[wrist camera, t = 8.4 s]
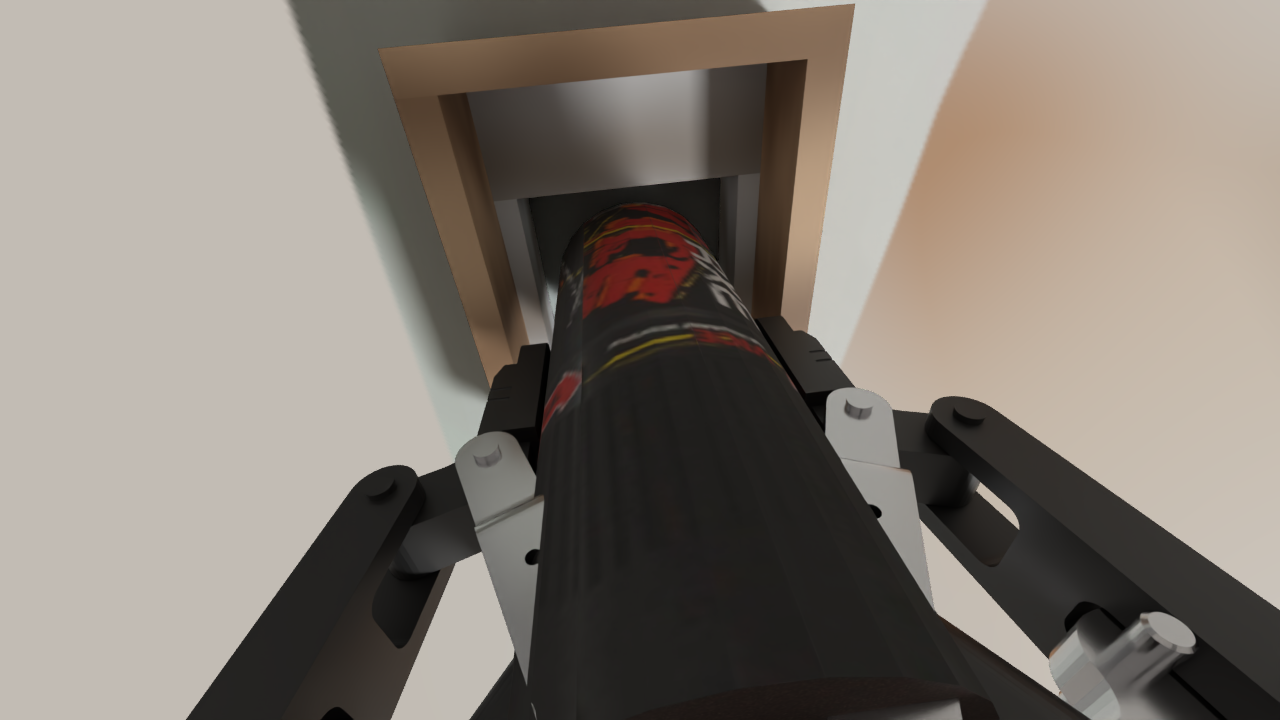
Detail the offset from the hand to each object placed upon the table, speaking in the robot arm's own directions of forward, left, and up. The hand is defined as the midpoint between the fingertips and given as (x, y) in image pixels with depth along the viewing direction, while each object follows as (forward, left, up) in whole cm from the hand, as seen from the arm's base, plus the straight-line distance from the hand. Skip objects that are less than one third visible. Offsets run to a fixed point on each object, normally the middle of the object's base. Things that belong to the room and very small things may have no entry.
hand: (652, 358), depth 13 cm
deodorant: (0, 0, -6) cm, 6 cm away
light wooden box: (0, 0, -7) cm, 7 cm away
